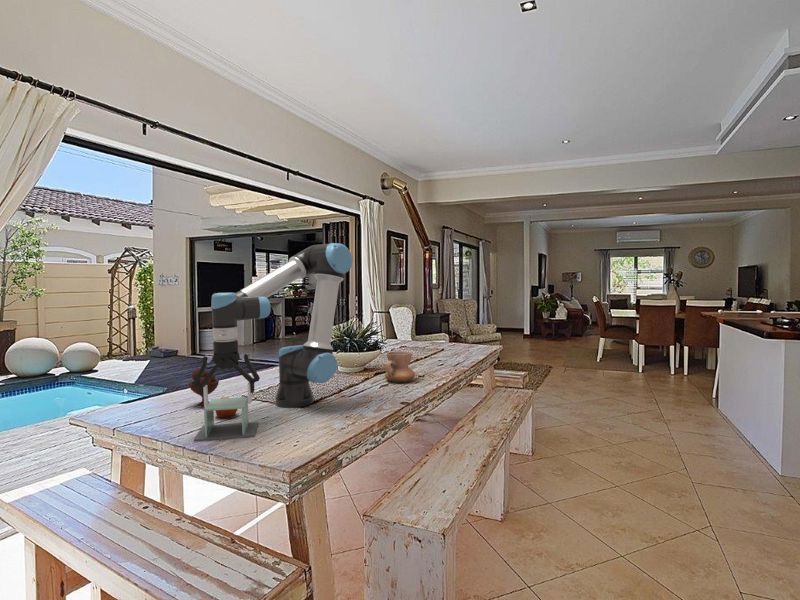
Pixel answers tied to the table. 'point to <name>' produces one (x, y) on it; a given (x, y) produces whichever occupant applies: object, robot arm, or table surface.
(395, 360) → the ceramic jug
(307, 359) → the robot arm
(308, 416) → the table surface
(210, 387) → the ice cream bowl
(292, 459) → the table surface
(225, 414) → the fruit
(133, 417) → the table surface
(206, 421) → the cover
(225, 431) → the mat
